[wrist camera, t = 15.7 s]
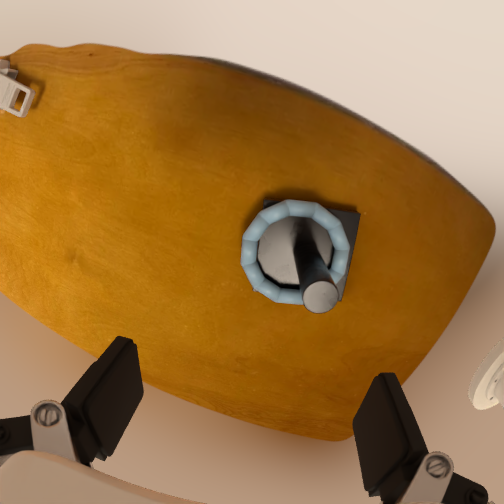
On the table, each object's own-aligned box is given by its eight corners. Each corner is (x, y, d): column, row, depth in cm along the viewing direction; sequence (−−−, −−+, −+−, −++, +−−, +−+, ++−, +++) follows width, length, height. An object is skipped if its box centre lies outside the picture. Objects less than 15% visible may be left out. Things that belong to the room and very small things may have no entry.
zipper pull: (31, 134, 25) (8, 135, 21) (-19, 103, 23) (-37, 103, 19) (55, 77, 23) (32, 71, 19) (-1, 58, 21) (-19, 54, 17)
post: (357, 211, 26) (400, 239, 16) (338, 296, 29) (364, 356, 19) (264, 197, 26) (259, 218, 17) (253, 286, 29) (243, 345, 19)
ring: (353, 206, 25) (358, 209, 23) (336, 303, 28) (338, 309, 26) (246, 194, 25) (244, 196, 24) (238, 294, 28) (237, 301, 27)
